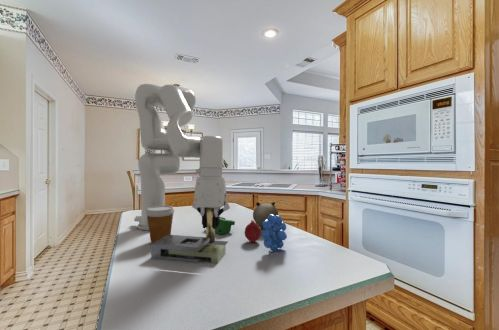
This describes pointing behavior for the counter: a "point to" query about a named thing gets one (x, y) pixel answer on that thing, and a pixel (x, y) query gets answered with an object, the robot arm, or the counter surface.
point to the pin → (210, 224)
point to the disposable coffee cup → (159, 221)
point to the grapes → (274, 232)
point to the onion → (252, 231)
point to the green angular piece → (224, 226)
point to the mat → (219, 243)
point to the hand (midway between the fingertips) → (210, 227)
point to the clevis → (186, 249)
